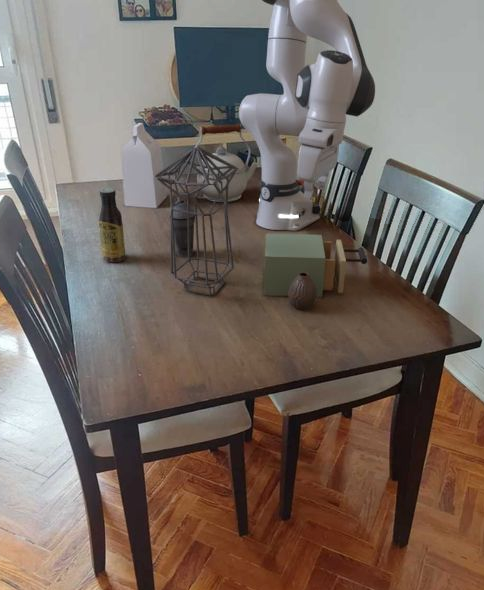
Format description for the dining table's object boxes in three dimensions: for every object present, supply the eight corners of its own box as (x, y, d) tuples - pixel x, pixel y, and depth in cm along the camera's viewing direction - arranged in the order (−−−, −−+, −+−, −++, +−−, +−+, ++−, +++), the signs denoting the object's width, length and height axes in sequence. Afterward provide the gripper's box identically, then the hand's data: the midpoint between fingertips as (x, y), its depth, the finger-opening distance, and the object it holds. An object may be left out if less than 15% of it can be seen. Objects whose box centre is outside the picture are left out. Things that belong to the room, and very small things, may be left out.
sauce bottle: (99, 261, 154) (87, 191, 143) (111, 252, 159) (101, 184, 148) (119, 265, 153) (109, 194, 142) (131, 256, 158) (122, 187, 147)
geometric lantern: (218, 306, 135) (213, 160, 115) (161, 294, 139) (147, 151, 120) (242, 279, 147) (242, 143, 128) (190, 269, 151) (181, 136, 132)
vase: (301, 316, 131) (303, 283, 126) (282, 305, 136) (283, 273, 131) (321, 307, 135) (324, 275, 130) (302, 296, 139) (304, 265, 135)
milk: (136, 195, 203) (127, 120, 188) (166, 197, 202) (160, 122, 187) (124, 205, 193) (114, 127, 178) (156, 208, 192) (149, 129, 177)
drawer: (359, 270, 151) (362, 240, 146) (365, 293, 140) (369, 261, 135) (288, 268, 151) (290, 238, 146) (289, 291, 140) (290, 259, 135)
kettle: (202, 207, 193) (198, 133, 179) (187, 192, 207) (182, 121, 193) (267, 199, 201) (268, 128, 188) (248, 185, 215) (248, 117, 202)
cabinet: (318, 271, 152) (321, 234, 146) (322, 297, 140) (325, 257, 134) (265, 270, 152) (266, 233, 146) (264, 295, 140) (264, 256, 134)
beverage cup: (193, 260, 157) (188, 190, 145) (168, 257, 158) (162, 188, 147) (200, 250, 162) (197, 182, 151) (177, 247, 164) (172, 180, 153)
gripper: (324, 124, 134) (315, 181, 141) (296, 135, 117) (287, 199, 124) (349, 129, 132) (338, 186, 139) (324, 141, 116) (314, 205, 123)
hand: (314, 193), depth 132 cm, fingers open, 8 cm apart
